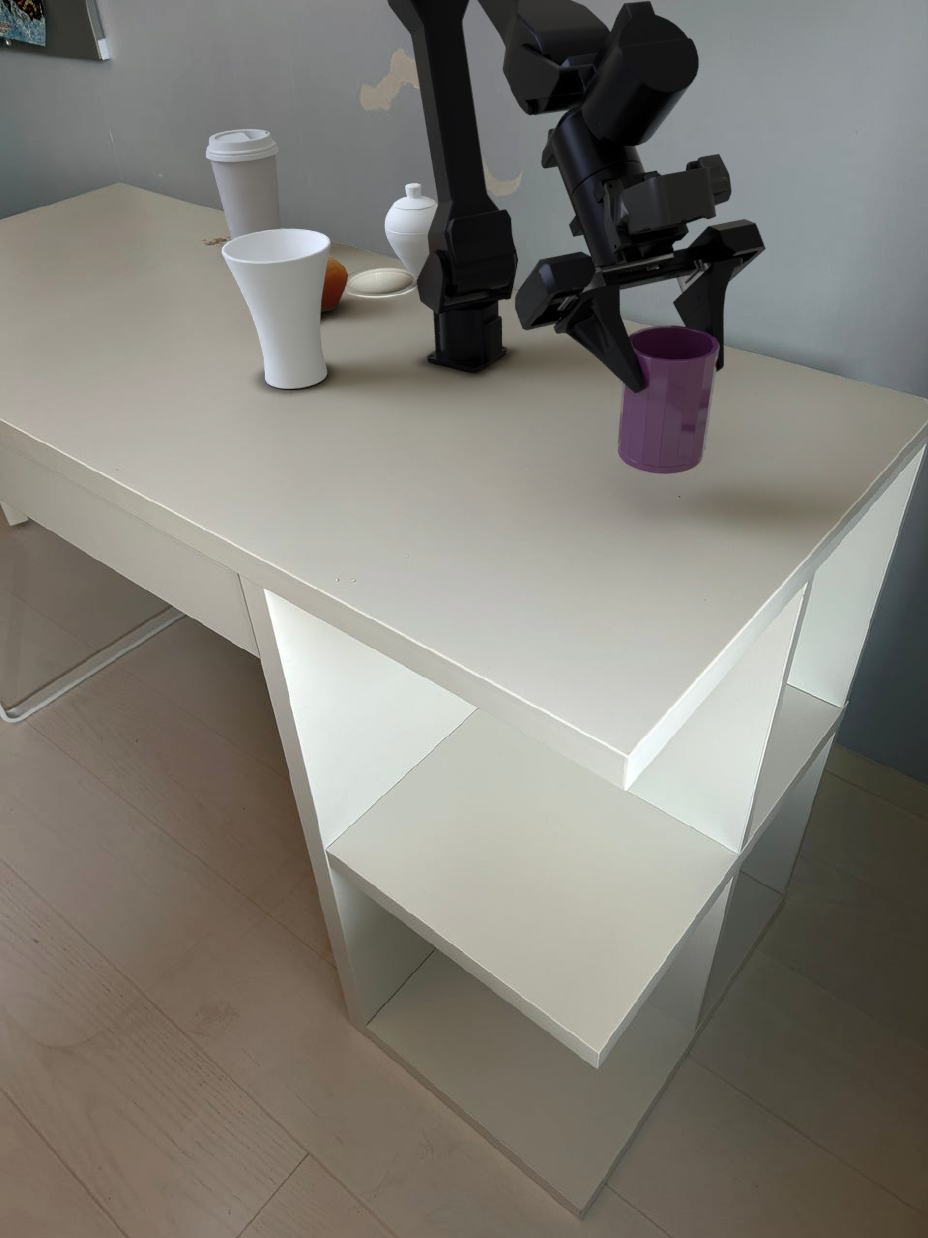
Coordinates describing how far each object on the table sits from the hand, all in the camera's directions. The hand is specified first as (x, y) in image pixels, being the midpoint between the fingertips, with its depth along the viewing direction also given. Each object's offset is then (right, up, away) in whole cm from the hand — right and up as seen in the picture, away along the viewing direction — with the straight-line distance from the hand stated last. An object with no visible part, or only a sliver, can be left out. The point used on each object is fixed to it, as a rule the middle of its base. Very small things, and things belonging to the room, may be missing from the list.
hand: (679, 380), depth 70 cm
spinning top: (-21, +25, +51) cm, 61 cm away
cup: (-33, +8, +31) cm, 46 cm away
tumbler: (0, -4, +5) cm, 7 cm away
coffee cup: (-45, +34, +64) cm, 85 cm away
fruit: (-34, +20, +46) cm, 60 cm away
